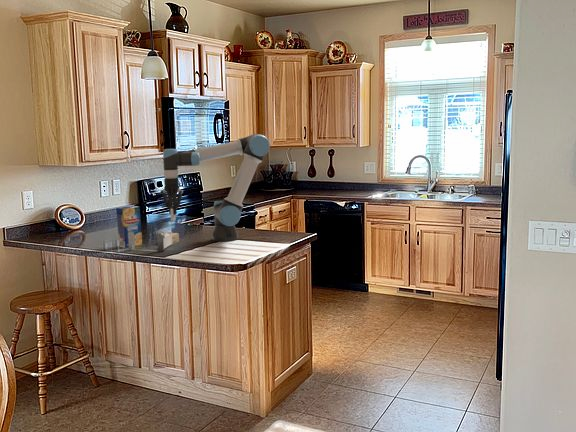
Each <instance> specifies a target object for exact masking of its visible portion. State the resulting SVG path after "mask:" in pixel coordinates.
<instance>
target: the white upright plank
mask: <svg viewBox="0 0 576 432" xmlns="http://www.w3.org/2000/svg"><path fill="white" fill-rule="evenodd" d="M167 233H168V234H166V235H165V236H163V244H164V250H165V249H166V248H168V247H170V246H171V245H173V244H174V243H172V233H173V231H167Z"/></svg>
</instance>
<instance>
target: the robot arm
mask: <svg viewBox="0 0 576 432" xmlns="http://www.w3.org/2000/svg"><path fill="white" fill-rule="evenodd" d="M270 148H271V142H270V140H269V139H268V138H267V137H266V136H265V135H263V134H251V135H248V136H245V137H241V138H237V140H234V141H232V142H227V143H226V142H225V143H221V144H216V145H212V146H206V147H202V148H196V149H191V150H184V151H182V152H178V149H177V148H165V149H164V150H163V152H162V156H163V157H162V159H163V162H162V163H163V177H164V179H163V181H164V187H163V189H161V190H160V191H159V192H160V193H161V195H162V198H163V202H164V206H165V208H167V209H168V214H169V215H170V221H171V222H175V221H176V215H177V213H178V212H177V209H178V208H180V206H181V201H182V197H183V194H184V190H183V189H181V188H180V186H179V167H197V166H200V165H201V164H200V163H202V162H207V161H212V160H216V159H222V158H226V157H231V156H236V155H240V156H244V157H243V160H242V163H241V164H240V167H239V170H238V172H237V174H236V176H235V179H234V181H233V183H232V186H231V189H230V190H229V193H228V195H227V197H225V198H223V200H215V201H213V202H214V203H213V210H214V211H213V212H214V213H213V214H214V229H213V233H212V240H213V241H214V242H232V240H233V241H236V240H238V239H239V234H238V231H237V229H236V226H235V225H237V224H238V223H239V221H240V219H241V213H242V210H243V209H244V205H243V201H244V198H245V196H246V194H247V192H248V189H249V187H250V185H251V183H252V179H253V177H254V175H255V173H256V170H257V169H258V165H259V164H260V163H263V161H264V159H265V157H266V155H267V154H268V153H269V151H270Z"/></svg>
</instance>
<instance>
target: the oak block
mask: <svg viewBox="0 0 576 432" xmlns="http://www.w3.org/2000/svg"><path fill="white" fill-rule="evenodd" d="M166 234H168V232H166V233H165V232H164V233H163V236H165V235H166ZM178 242H180V233H179V232H172V243H173V244H176V243H178Z"/></svg>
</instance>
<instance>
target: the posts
mask: <svg viewBox="0 0 576 432" xmlns="http://www.w3.org/2000/svg"><path fill="white" fill-rule="evenodd" d="M163 234H164V233H163V232H158V233H156V236H157V249H155V250H154V249H136V248H135V249H134V250H133V251H136V252H138V251H139V252H154V253H157V252H158V253H164V252H165V249H164V244H163Z"/></svg>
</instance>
